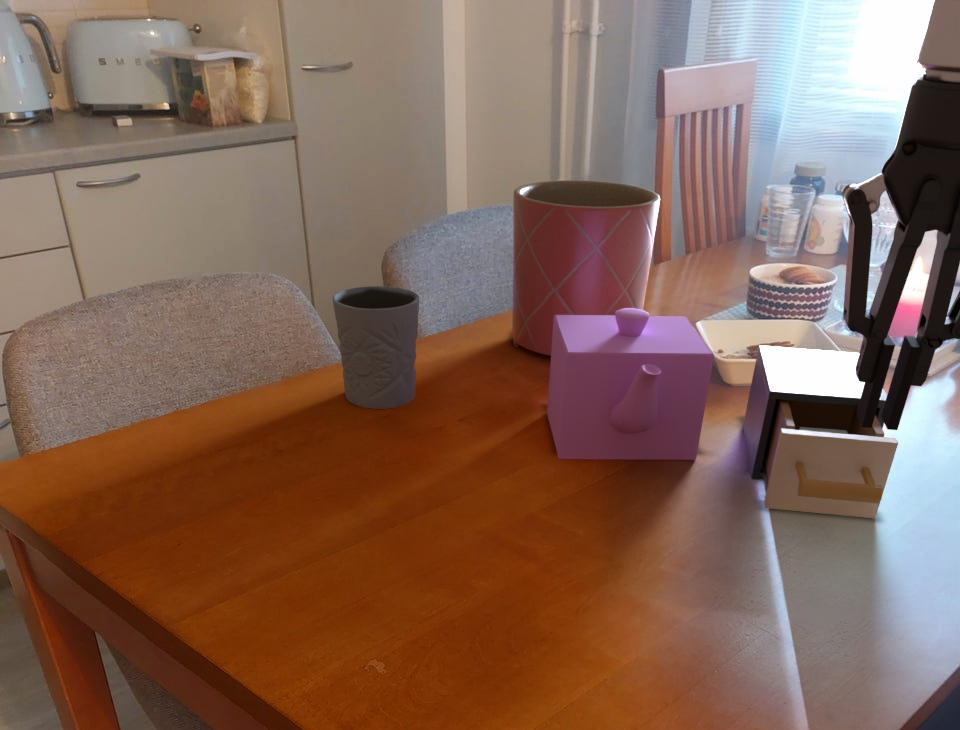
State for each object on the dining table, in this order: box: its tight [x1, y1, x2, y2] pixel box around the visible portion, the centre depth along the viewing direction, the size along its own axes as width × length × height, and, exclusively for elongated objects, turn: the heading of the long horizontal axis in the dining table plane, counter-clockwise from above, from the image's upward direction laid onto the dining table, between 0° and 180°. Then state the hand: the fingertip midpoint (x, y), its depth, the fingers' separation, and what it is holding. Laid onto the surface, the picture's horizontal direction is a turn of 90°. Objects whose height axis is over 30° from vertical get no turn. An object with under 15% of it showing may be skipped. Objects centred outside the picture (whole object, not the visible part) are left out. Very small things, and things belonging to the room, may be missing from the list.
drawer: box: [763, 399, 899, 519], centre depth 90 cm, size 19×10×8 cm, turn 170°
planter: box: [511, 179, 661, 357], centre depth 126 cm, size 19×19×20 cm
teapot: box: [546, 308, 715, 461], centre depth 101 cm, size 15×25×14 cm, turn 2°
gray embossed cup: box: [332, 285, 420, 410], centre depth 111 cm, size 10×10×12 cm
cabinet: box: [742, 345, 888, 481], centre depth 100 cm, size 15×12×10 cm
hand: (876, 421), depth 73 cm, fingers closed
